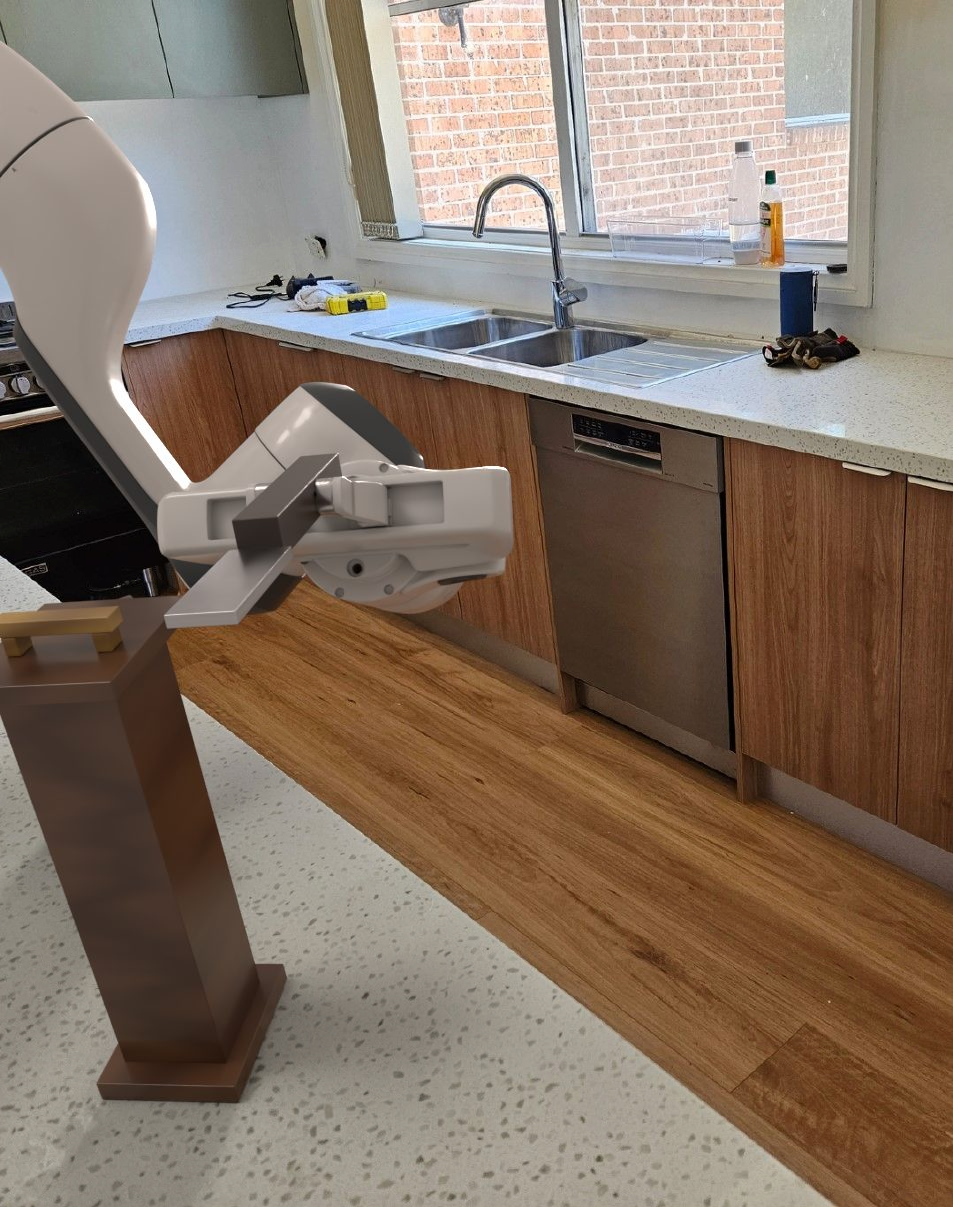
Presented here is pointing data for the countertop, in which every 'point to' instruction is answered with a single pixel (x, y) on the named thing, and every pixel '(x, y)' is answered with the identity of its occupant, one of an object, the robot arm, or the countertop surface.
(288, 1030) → the countertop surface
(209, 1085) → the brown wooden pedestal
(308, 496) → the knife
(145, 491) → the robot arm
